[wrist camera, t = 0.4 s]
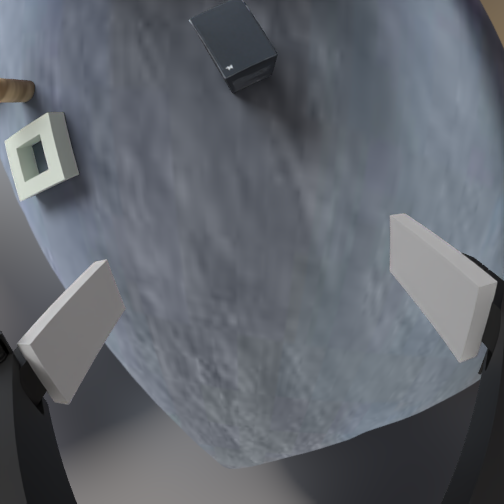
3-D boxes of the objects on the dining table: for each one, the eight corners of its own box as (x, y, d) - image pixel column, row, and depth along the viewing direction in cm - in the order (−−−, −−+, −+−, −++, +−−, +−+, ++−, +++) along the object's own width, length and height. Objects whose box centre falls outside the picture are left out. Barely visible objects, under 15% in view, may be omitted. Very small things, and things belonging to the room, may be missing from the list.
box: (273, 75, 33) (279, 55, 24) (232, 94, 34) (223, 80, 25) (244, 26, 31) (240, -6, 21) (204, 45, 32) (186, 18, 22)
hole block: (20, 138, 35) (4, 141, 32) (63, 112, 34) (47, 112, 31) (35, 195, 39) (20, 201, 35) (79, 174, 38) (64, 179, 34)
